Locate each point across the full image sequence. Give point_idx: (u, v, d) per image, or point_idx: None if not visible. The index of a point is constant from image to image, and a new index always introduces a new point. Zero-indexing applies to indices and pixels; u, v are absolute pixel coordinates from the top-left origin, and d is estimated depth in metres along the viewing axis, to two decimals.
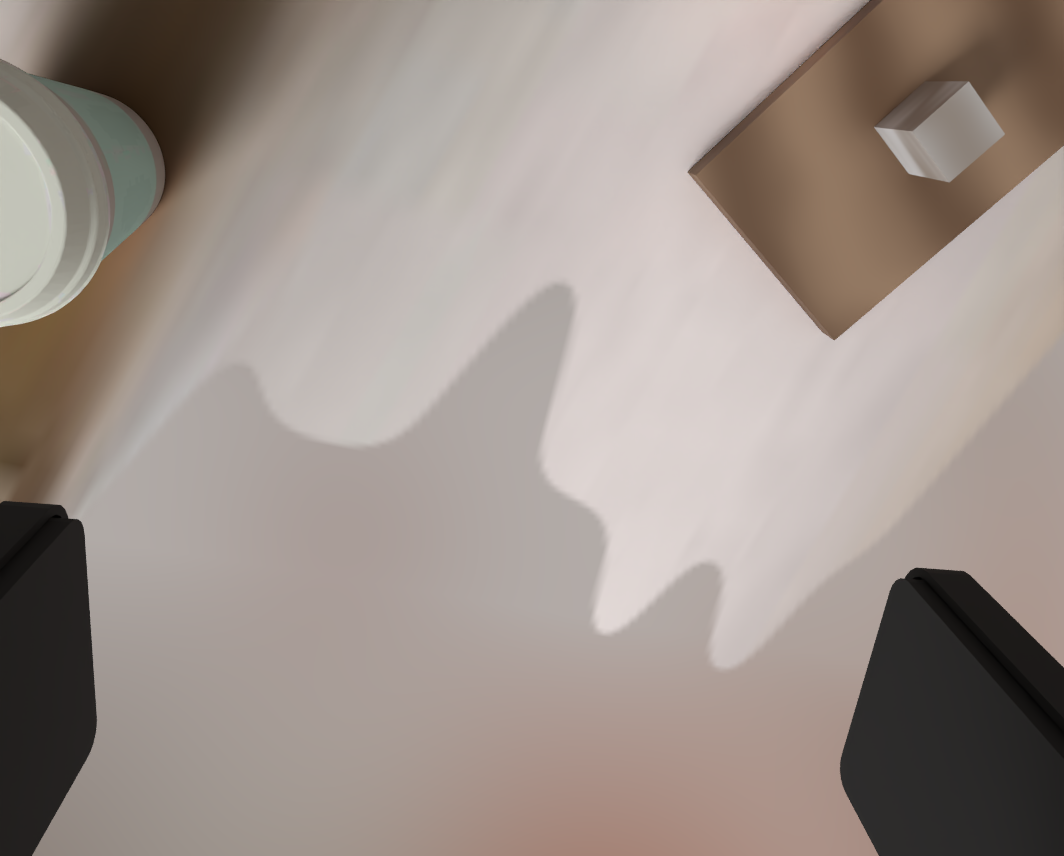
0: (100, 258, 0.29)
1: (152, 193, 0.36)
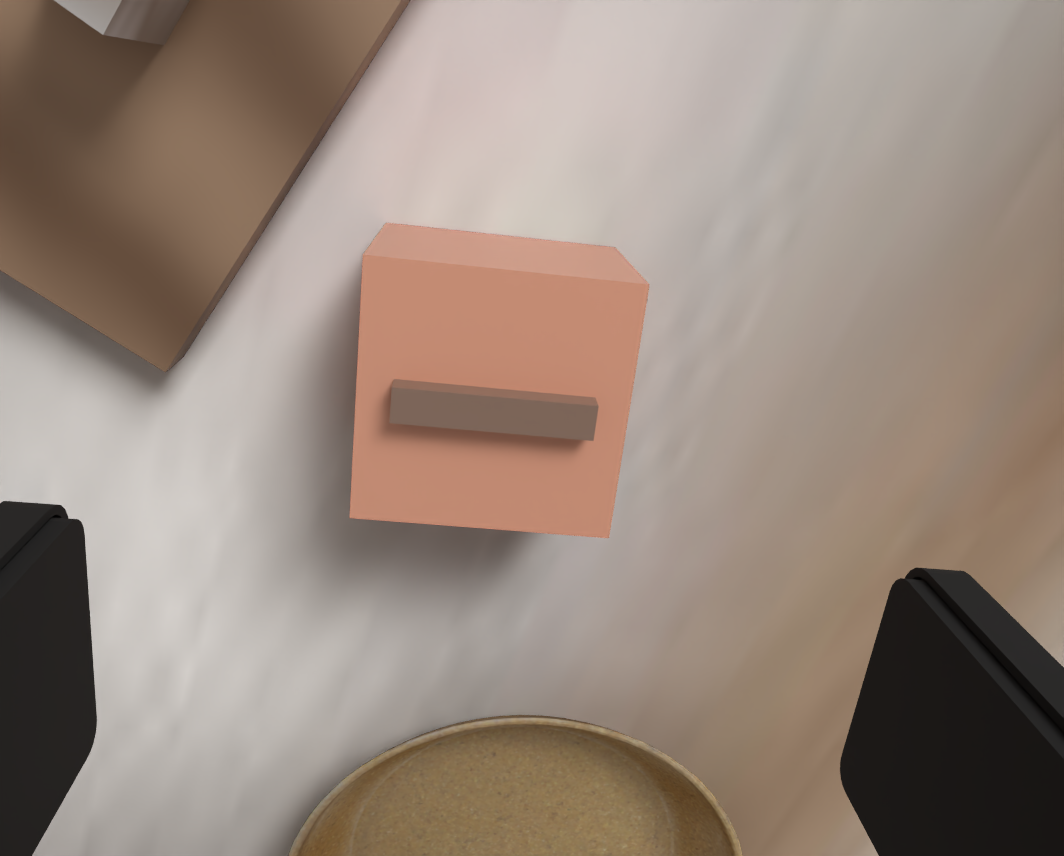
0: None
1: None
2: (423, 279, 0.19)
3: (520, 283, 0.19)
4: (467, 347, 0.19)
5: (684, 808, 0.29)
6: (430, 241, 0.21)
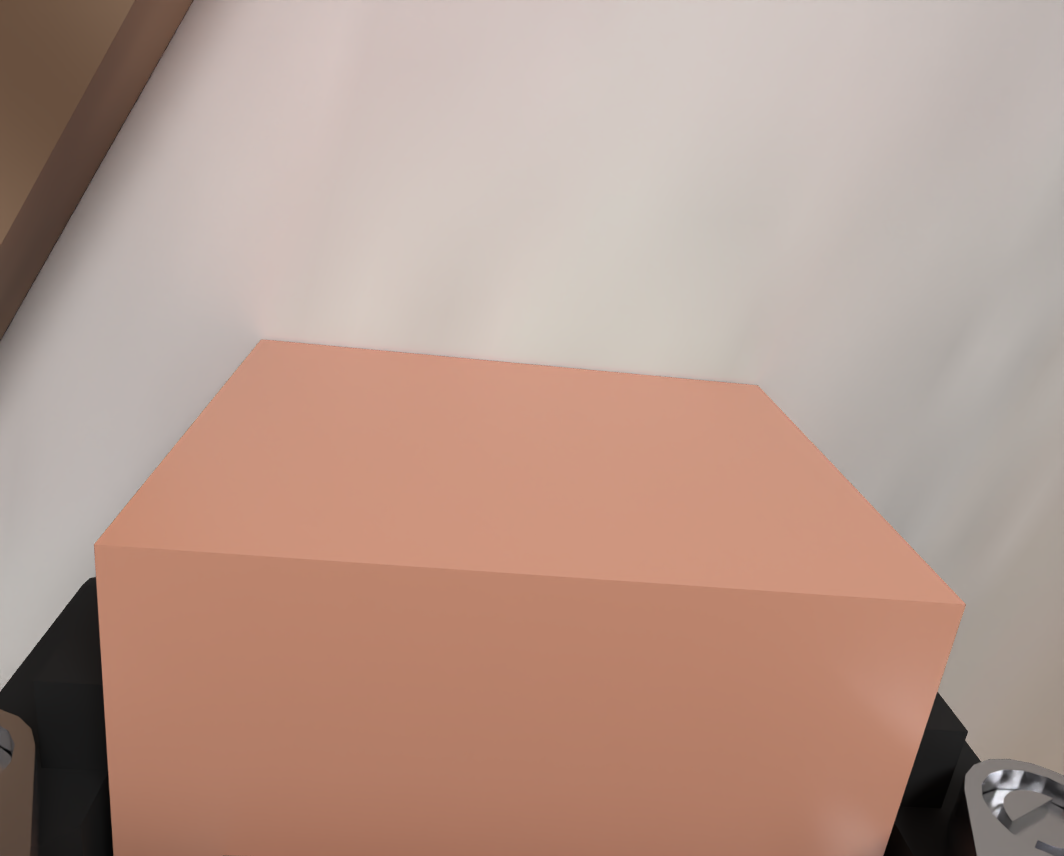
0: None
1: None
2: (291, 608, 0.06)
3: (587, 610, 0.06)
4: (430, 774, 0.07)
5: None
6: (344, 416, 0.08)
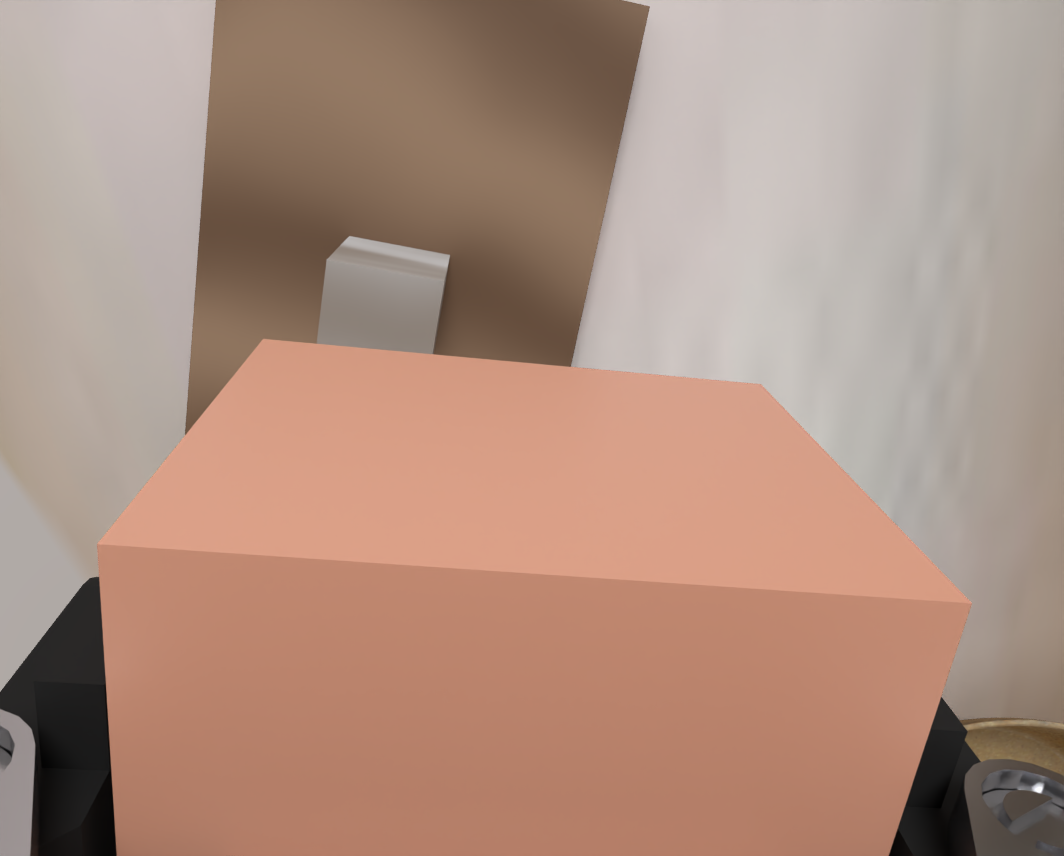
0: None
1: None
2: (295, 607, 0.06)
3: (591, 610, 0.06)
4: (433, 774, 0.07)
5: None
6: (346, 416, 0.08)
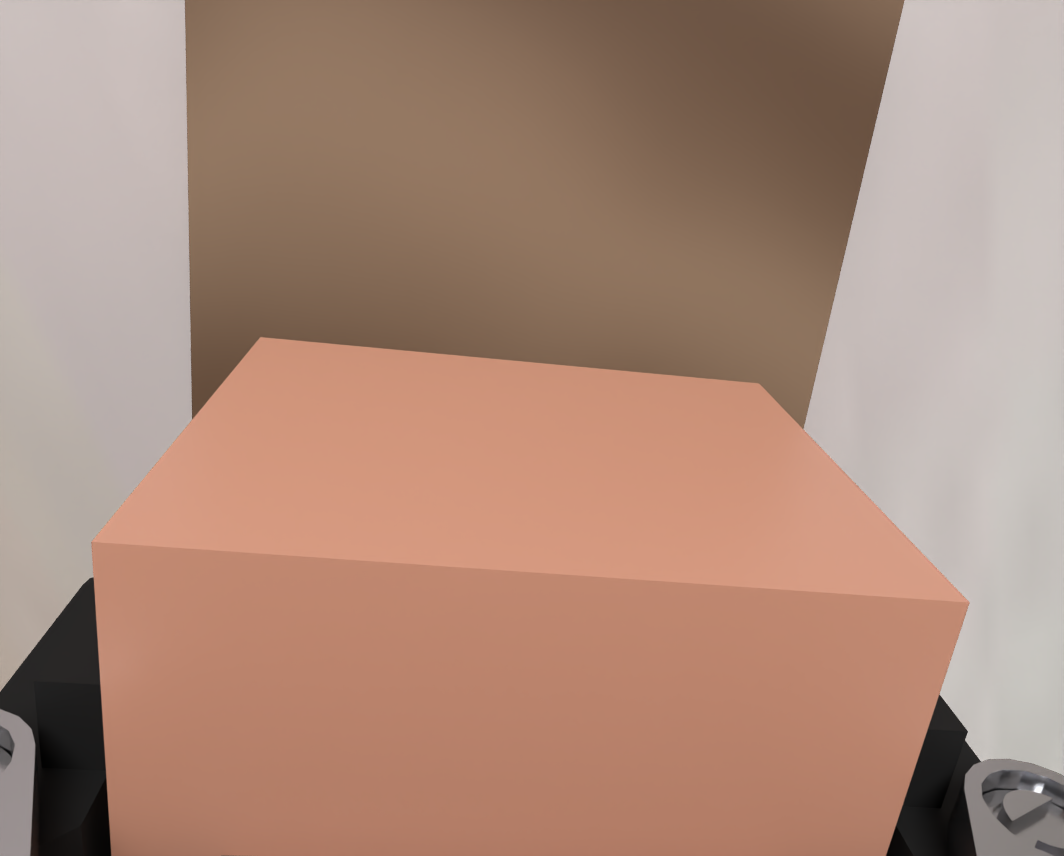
0: None
1: None
2: (290, 606, 0.06)
3: (588, 609, 0.06)
4: (430, 773, 0.07)
5: None
6: (343, 414, 0.08)
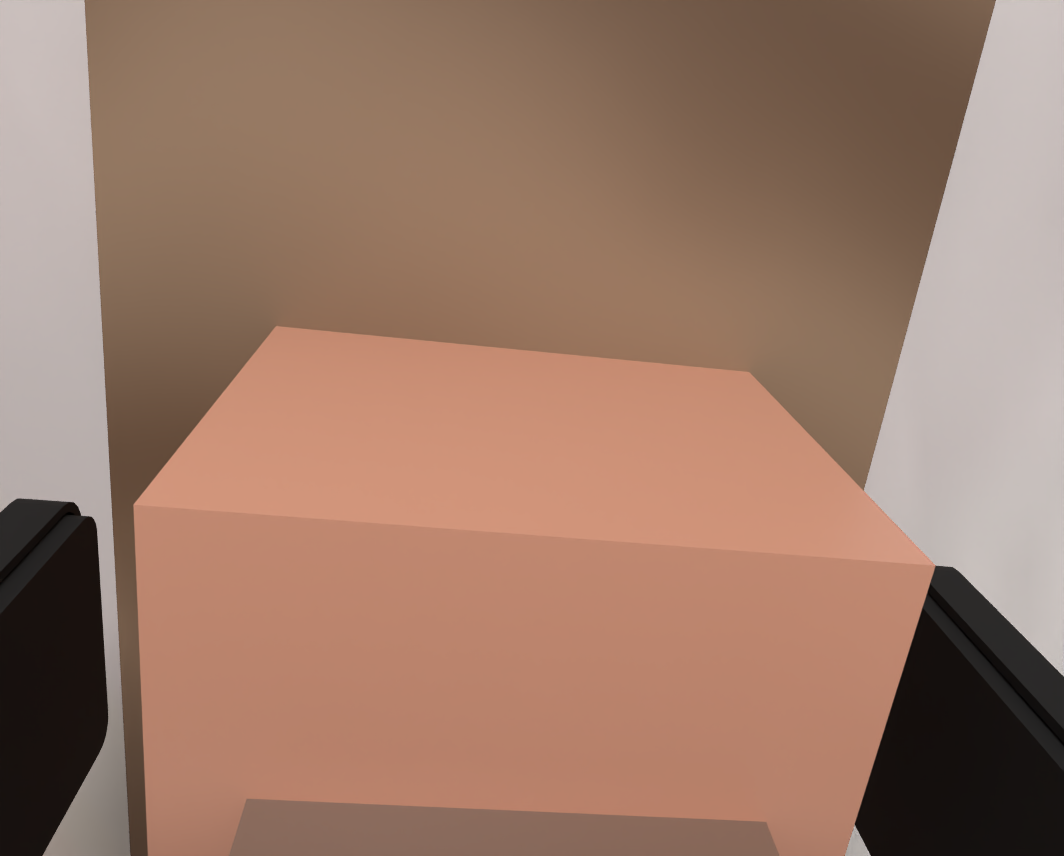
0: None
1: None
2: (313, 565, 0.07)
3: (585, 569, 0.07)
4: (439, 724, 0.07)
5: None
6: (357, 396, 0.09)
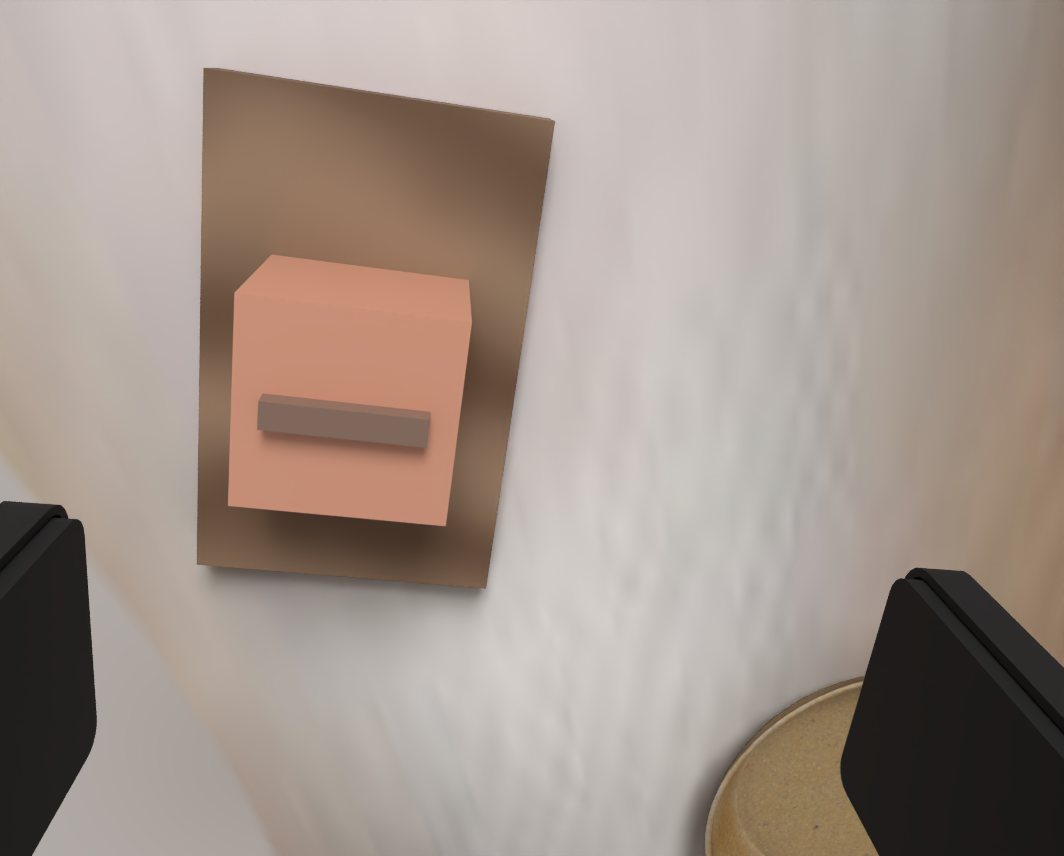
0: None
1: None
2: (285, 313, 0.23)
3: (365, 318, 0.23)
4: (323, 369, 0.23)
5: None
6: (301, 276, 0.25)
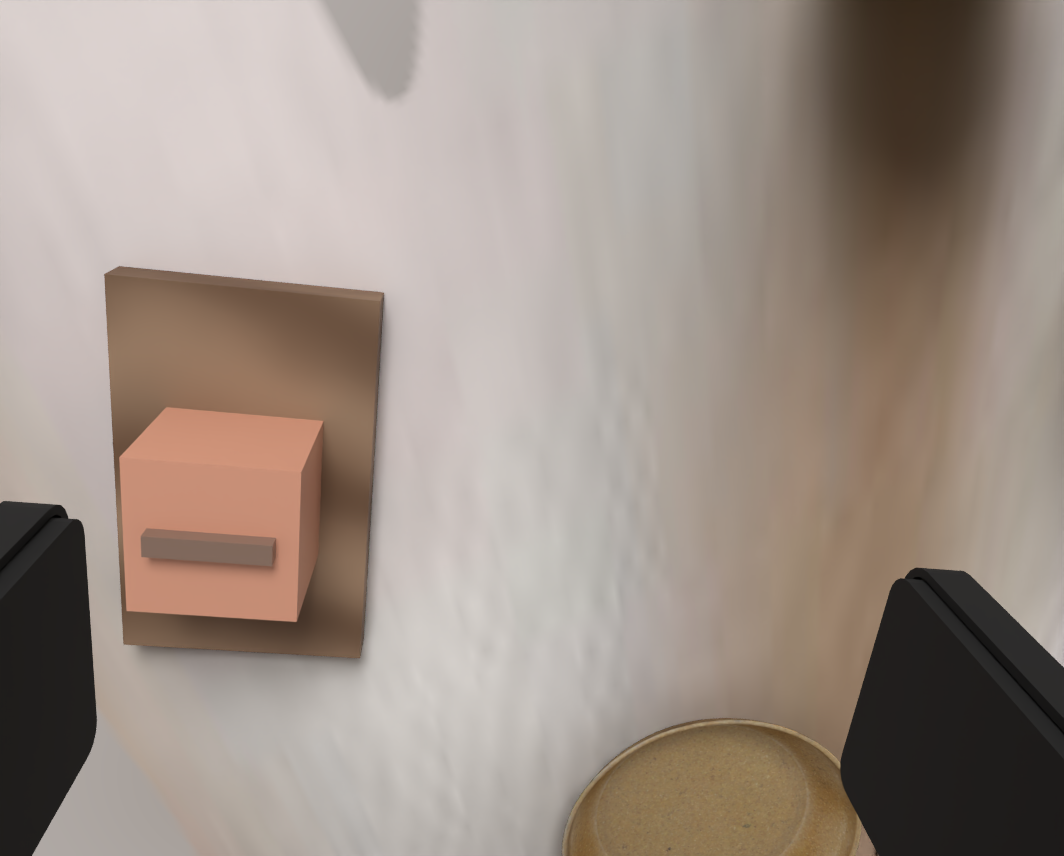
0: None
1: None
2: (158, 471, 0.30)
3: (219, 472, 0.31)
4: (190, 509, 0.31)
5: (788, 740, 0.44)
6: (181, 431, 0.33)
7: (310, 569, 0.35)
